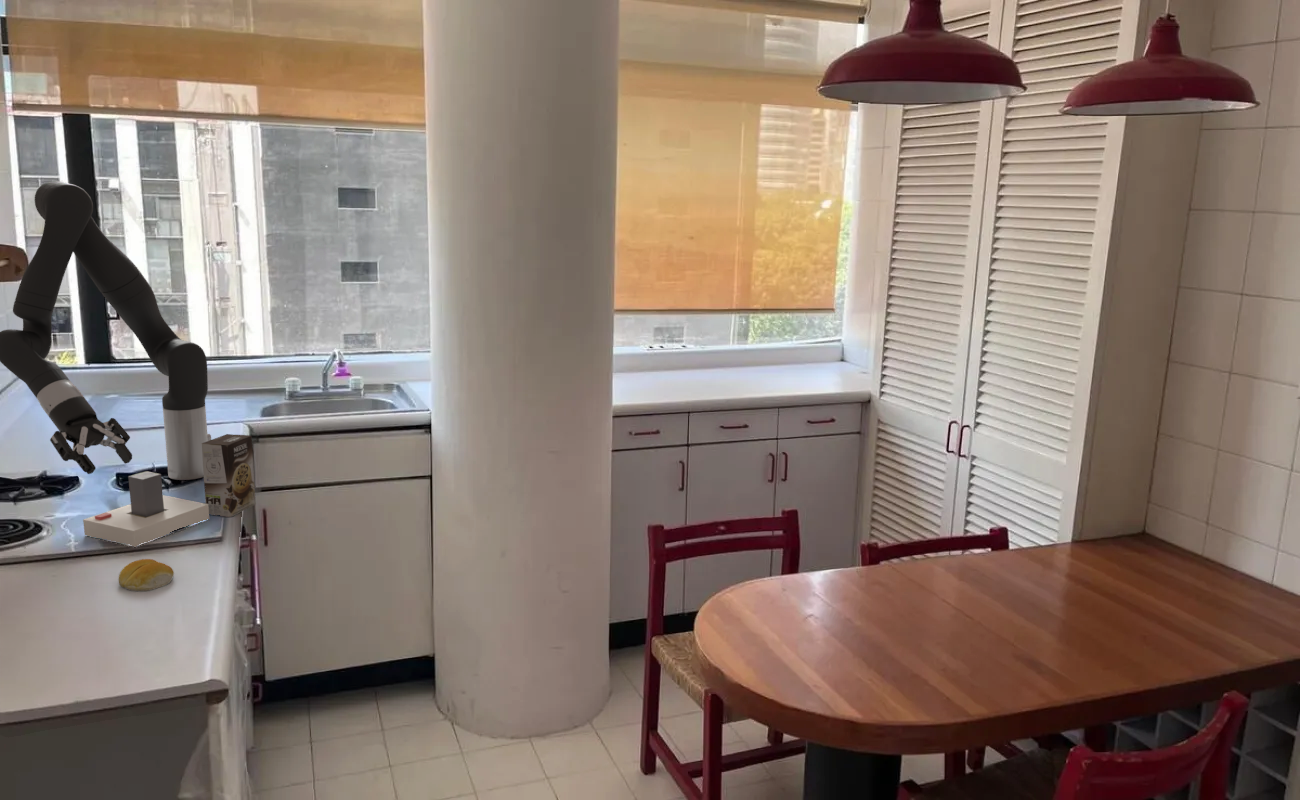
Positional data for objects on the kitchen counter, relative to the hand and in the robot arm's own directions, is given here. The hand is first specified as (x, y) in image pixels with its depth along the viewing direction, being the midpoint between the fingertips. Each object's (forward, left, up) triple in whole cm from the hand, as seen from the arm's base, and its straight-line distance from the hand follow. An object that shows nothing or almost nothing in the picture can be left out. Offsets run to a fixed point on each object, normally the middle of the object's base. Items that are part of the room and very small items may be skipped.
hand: (111, 466), depth 195 cm
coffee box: (-16, +16, -12) cm, 25 cm away
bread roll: (+20, +32, -12) cm, 40 cm away
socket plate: (0, +10, -12) cm, 15 cm away
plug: (0, +10, -11) cm, 15 cm away
